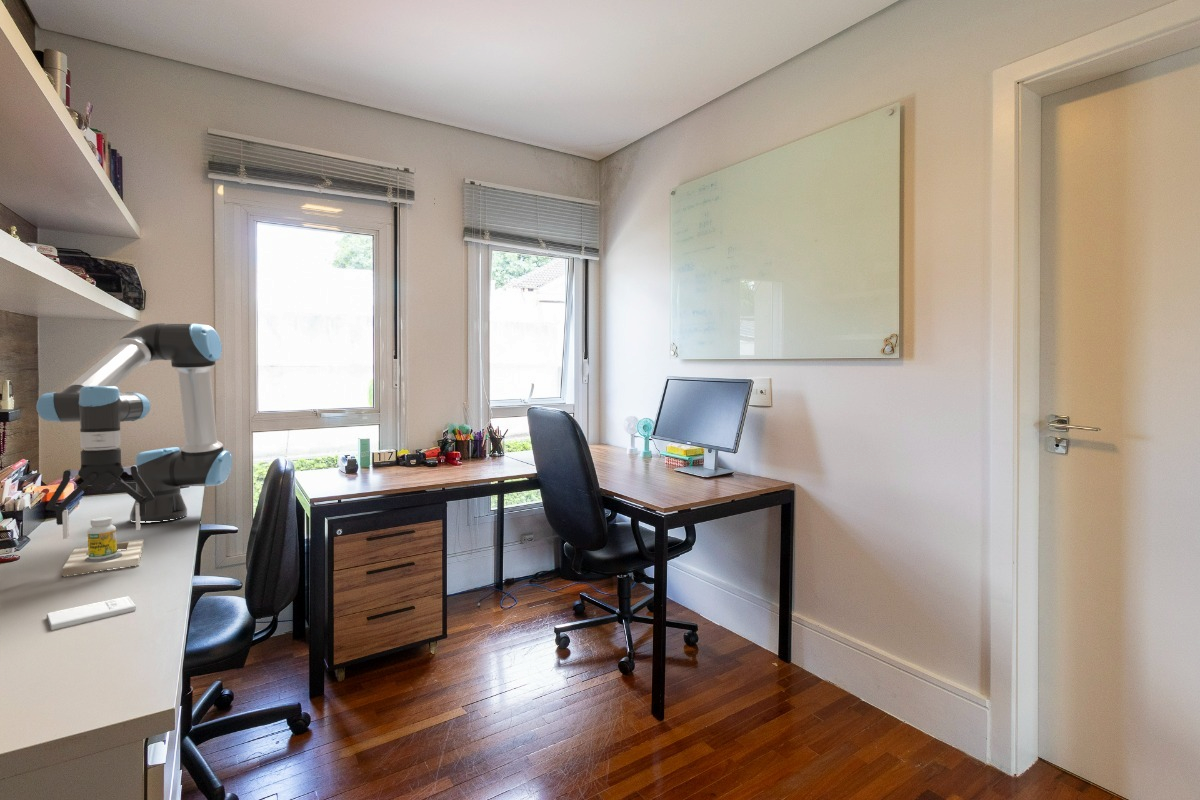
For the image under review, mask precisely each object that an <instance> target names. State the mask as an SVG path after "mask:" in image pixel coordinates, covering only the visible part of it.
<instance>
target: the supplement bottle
mask: <svg viewBox="0 0 1200 800" xmlns="http://www.w3.org/2000/svg"><path fill="white" fill-rule="evenodd" d="M90 526H91V527H89V529H88V530H87V546H88V556H89V559H91V560H99V559H106V558H110V557H113V556H115V555H116V554H117V543H118V542H117V528H116V526H115V525H113V517H111V516H103V517H95V518H93V519H90Z"/></svg>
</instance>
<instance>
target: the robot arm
mask: <svg viewBox="0 0 1200 800" xmlns="http://www.w3.org/2000/svg"><path fill="white" fill-rule="evenodd" d="M222 345H223V344H222V340H221V338H220V336H219V334H218V332H217V331H216V330H215V328H213V327H212V326H210V325H208V324H200V323H162V322H161V323H160V322H157V323H151V324H147V325H144V326H141V327H138V328H136V329H134V330H132V331H130V332H127V334H125V335H123V336H122V337H121V338H119V339H118V340H117V341H116V342H115V343H114V345H113V349H112V350H111V351H110V352H108V353H107V354H106V355H105V356H104V357H102V358H101V359H100V360H99V361H97V363H95V364H94V365H93V366H91V367H90V368H89V369H88V370H86V371H85V372H84V373H83V374H82V375H80V376H79V377H78V378H77V379H75V381H74V380H73V382H72V383H71V384H69V386H67V387H66V388H65V389H63V390H62V391H60V392H57V391H53V392H46V393H43V394H41V396H39V397H38V400H37V402H36V412H37V413H38V416H39V417H40V419H42V420H44V421H47V422H56V423H57V422H59V423H66V422H69V423H70V422H71V423H73V422H79V424H80V425H79V426H80V428H79V431H80V432H79V437H80V439H79V440H80V446H79V447H80V448H82V449H81V451H80V468H79V470H75V469H73V470H72V469H70V468H67V469H66V470H64V471H63V473H62V480H61V482H60V483H59V484H58V486H57V488H56V490H55V491H54V493H53V494H52V496H51V498H50V499H49V501H48V502H47V504H46V505H45V508H44V509H45V510H46V511H52V512H55V517H56V524H57V526H60V525H61V526H62V539H63V540H65V539H67V540H68V538H69V537H70V524H69V523H70V521H69V520H70V519H69V518H70V516H69V509H65V508H67V507H68V505H70V504H71V503H72V501H73V500H75V499H76V498H77V497H78V495H80V494H81V493H82V492H83V491H84V490H85V489H86V488H87V487H88V486H90V487H93V488H94V487H100V486H105V487H107V486H111V485H113V484H114V485H115V486H117V487H119V488H120V489H121V490H123V492H125V493H126V494H128V495H129V496H130V497H131V498H132V499H134V503H133V505H132V508H131V512H130V514H129V521H130V520H132V521H136V523H135V531H140V530H141V524H140V521H145V522H146V521H163V520H170V519H176V518H180V517H183V516H186V515H187V516H188V508H187V505H186V503H185V501H184V498H183V496H182V494H181V493H182V492H181V487H211V486H213V487H214V486H221V485H222V484H223V483H225V482H226V481H227V479H228V478H229V476H230V474H231V471H232V466H233V456H232V454H231V452H230V451H229V450H224V444H223V443H222V442H221V441H219V440H218V433H217V426H216V425H217V424H216V416H215V407H214V406H215V403H214V395H213V394H214V393H213V384H212V375H211V373H212V372H211V370H212V369H214V367H215V366H216V362H217V361H219V360H220V359H221V357H222V352H223V346H222ZM163 360H164V361H171V367H172V368H173V369H174V370H175V371H177V373H178V382H179V391H180V399H181V402H180V403H181V407H182V408H181V410H182V417H183V427H184V428H183V429H184V438H185V443H184V445H183V446H182V447H181V448H180V447H178V446H174V447H164V448H158V449H151V450H146V451H142V452H139V453H137V454H136V456H135V464H132V465H131V466H130V465H129V466H125V467H124V466H123V465H122V449H121V448H119V447H120V446H121V445H122V444H121V443H122V441H121V439H122V436H121V433H122V432H121V423H123V422H135V421H138V420H141V419H143V418H145V417H147V415H149V413H150V410H151V402H150V401H149V399H148V397H146V396H145V395H144V394H141V393H139V392H133V391H132V392H129V391H128V392H120V388H119V387H118V386H119V385H120V384H121V383H122V382H123V381H125V380H126V379H127V378H128V377H129V376H130V375H131V374H132V373H133V372H134V371H135V370H136V369H137V368H138V367H143V366H145V365H147V364H148V363H150V362H153V361H163ZM123 473H126V474H127V475H129V476H132V479H133V480H134V481H135V489H134V488H133V487H132V486H130V485H129V483H128V484H127V482H125V480H124V479H122V478H121V476H122V474H123ZM76 476H79V477H80V478H81V479H82V480H83V481H82V482H81V484H79V486H78V487H76V488H75V489H74V491H72V492H71V493H70V494H69V495H68V496H67V497H66V498H65V499H64V500H63V501H62V502H61V503H60V504H56V503H58V500H60V498H61V496H62V494H63V492H64V491H65V489H66V488H67V486H68V484H69V483H70V481H71V480H73V479H75V477H76ZM187 516H186V517H187Z"/></svg>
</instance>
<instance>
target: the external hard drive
mask: <svg viewBox="0 0 1200 800" xmlns="http://www.w3.org/2000/svg"><path fill="white" fill-rule="evenodd" d="M135 610H136V611H137V605H136V604H135V603H134V601H133V600H132V599H131V598H130V596H129V595H126V596H122V597H117V598H112V599H108V600H102V601H99V602H93V603H89V604H84V605H79V606H74V607H70V608H65V609H61V610H60V609H59V610H56V611H51V612H47V613H46V620H47V622H48V624H49V627H50V630H51V631H55V630H58V629H63V628H67V627H72V626H77V625H79V624H84V623H85V624H86V623H88V622H93V621H97V620H102V619H106V618H109V617H110V618H111V617H115V616H119V615H122V614H128V613H130V612H136V611H135Z"/></svg>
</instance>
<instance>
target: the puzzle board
mask: <svg viewBox="0 0 1200 800" xmlns="http://www.w3.org/2000/svg"><path fill="white" fill-rule="evenodd" d="M118 549H126V550H121V551H117V554H116V555H115V556H113V557H110V558H106V559H99V560H91V559H89V556H88V545H87V546H81V547H74V550H73V551H72V553H71V554H70V556H68V558H67V560H66V561H65V564H64V565H63V567H62V569H61V573H62V576H67V575H74V574H81V575H83V574H82V573H87V574H89V573H88V572H94V571H100V570H107V569H113V568H120V567H129V566H135V565H139V566H140V563H139V562H141V559H140V557H141V558H142V554H141V553H143V550H144V539H137V540H127V541H122V542H121V541H119V542H117V550H118ZM142 549H143V550H142ZM135 567H136V566H135ZM129 568H130V567H129ZM94 573H95V572H94ZM62 576H61V577H62ZM74 576H75V575H74ZM67 577H68V576H67Z"/></svg>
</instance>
